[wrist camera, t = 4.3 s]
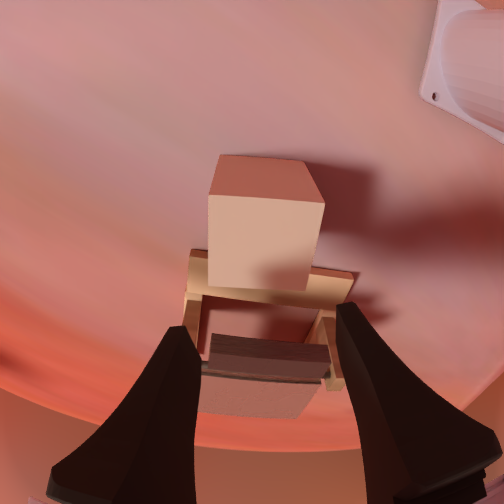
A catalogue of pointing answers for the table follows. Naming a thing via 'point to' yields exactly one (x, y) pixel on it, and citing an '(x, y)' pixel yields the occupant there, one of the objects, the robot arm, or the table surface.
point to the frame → (316, 297)
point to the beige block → (262, 223)
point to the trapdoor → (261, 377)
